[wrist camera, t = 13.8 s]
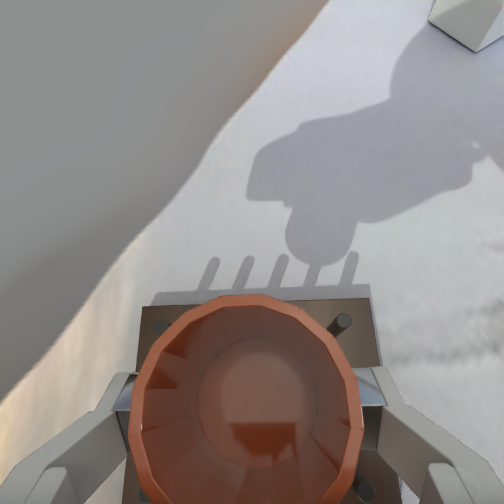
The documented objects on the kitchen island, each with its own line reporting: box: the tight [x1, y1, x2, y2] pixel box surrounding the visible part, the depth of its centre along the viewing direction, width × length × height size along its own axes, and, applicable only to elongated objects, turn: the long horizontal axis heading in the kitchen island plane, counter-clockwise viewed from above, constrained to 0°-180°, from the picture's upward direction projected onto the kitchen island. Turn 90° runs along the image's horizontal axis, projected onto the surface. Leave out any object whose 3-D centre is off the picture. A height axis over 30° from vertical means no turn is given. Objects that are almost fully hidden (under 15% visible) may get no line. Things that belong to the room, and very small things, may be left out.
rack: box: [122, 298, 402, 504], centre depth 22 cm, size 18×14×5 cm
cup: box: [128, 294, 364, 504], centre depth 12 cm, size 6×6×7 cm
